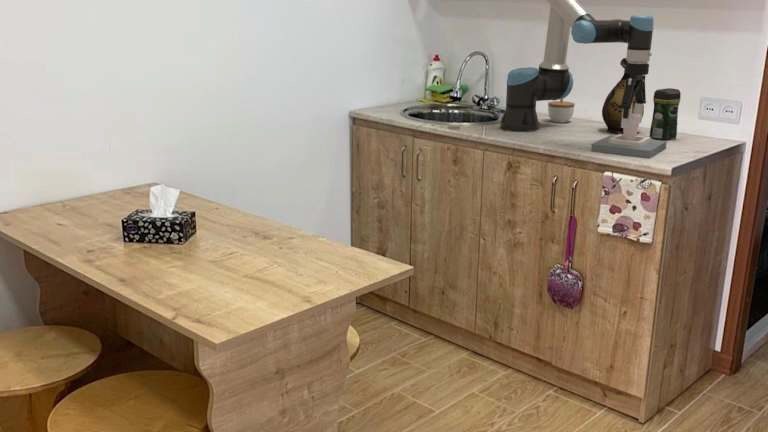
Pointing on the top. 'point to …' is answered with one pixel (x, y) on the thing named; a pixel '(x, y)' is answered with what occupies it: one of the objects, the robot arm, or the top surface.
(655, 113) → the coffee jar
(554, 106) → the lidded jar
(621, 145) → the plinth
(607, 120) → the ceramic jug
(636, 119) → the smoothie
